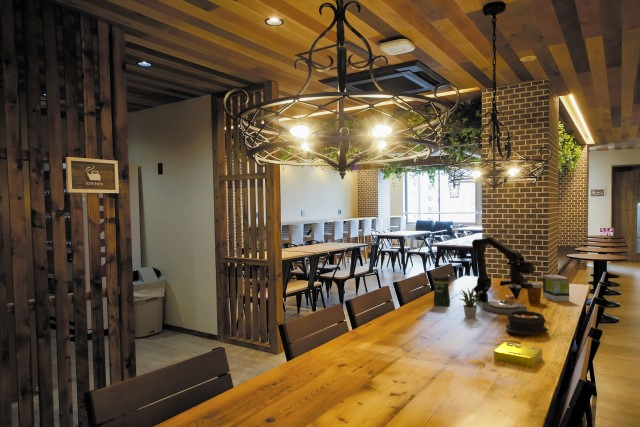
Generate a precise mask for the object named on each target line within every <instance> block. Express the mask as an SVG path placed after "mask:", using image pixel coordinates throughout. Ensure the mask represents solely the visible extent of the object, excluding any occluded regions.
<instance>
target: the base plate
mask: <svg viewBox="0 0 640 427" xmlns="http://www.w3.org/2000/svg"><path fill="white" fill-rule="evenodd" d="M489 302H490V301H489ZM489 302H488V301H487V302H483V303H482V305H481V308H482V311H484V310H485V311H484V312H487V311H488V312H487V313H490V312H492V313H491V314H496V313H497V314H496V315H507V316H509V313H510V312H513V311H528V307H527V306H525V305H523V304H521V303H519V307H518V308H514V309H503V308H495V307H492V306H490V305H489Z"/></svg>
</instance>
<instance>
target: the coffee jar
mask: <svg viewBox="0 0 640 427" xmlns="http://www.w3.org/2000/svg"><path fill="white" fill-rule="evenodd" d="M432 282H433V288H434V289H433V290H434V291H433V292H434V293H433V305H435V304H436V305H435V306H440V305H445V306H444V307H446V305H448V306H449V305H451V300H450V299H451V297H450V290H449V284H450V277H449V275H446V274H435V275H433V279H432Z"/></svg>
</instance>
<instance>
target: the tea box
mask: <svg viewBox="0 0 640 427" xmlns="http://www.w3.org/2000/svg"><path fill="white" fill-rule="evenodd" d="M542 285H543V286H542V297H543V298H546V299H547V300H551V301H553V302H569V301H570V278H569V277H567V276H566V277H565V276H562V275H559V274H543V275H542Z"/></svg>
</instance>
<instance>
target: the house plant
mask: <svg viewBox="0 0 640 427" xmlns="http://www.w3.org/2000/svg"><path fill="white" fill-rule="evenodd" d="M467 291H468V292H465V291H464V290H463V289H461V291H459V294H461V295H462V296H463V297H464V298H459V299H458V300H459V301H463V302H464V304H463V311H464V316H465V318H466V317H467V319H470V318H473V319H476V316H477V310H478V307H477V305H476V304H477V301H480V300H478V298H477V299H476V296H477V295H478V294H479V293H483V292H482V291H480V292H478V293H477V294H476V293H475V292H474V289H473V288H472V289H471V291H470V289H469V288H467ZM474 293H475V294H474ZM479 295H480V294H479Z"/></svg>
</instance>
